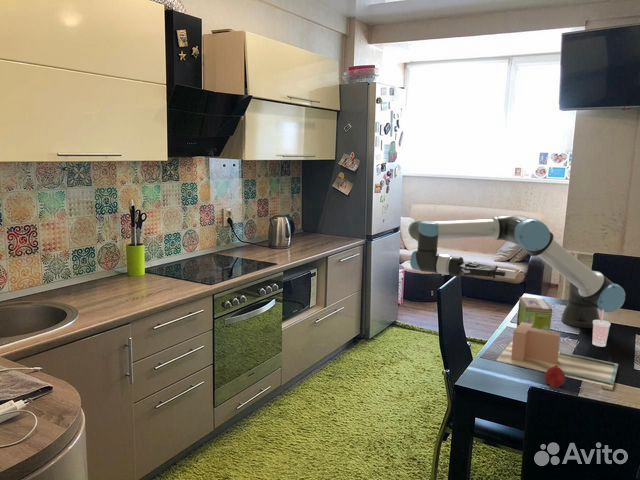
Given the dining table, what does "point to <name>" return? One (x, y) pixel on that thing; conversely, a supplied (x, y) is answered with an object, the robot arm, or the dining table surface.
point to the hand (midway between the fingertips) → (515, 274)
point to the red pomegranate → (555, 377)
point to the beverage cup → (600, 331)
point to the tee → (535, 344)
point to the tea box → (534, 313)
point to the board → (570, 367)
